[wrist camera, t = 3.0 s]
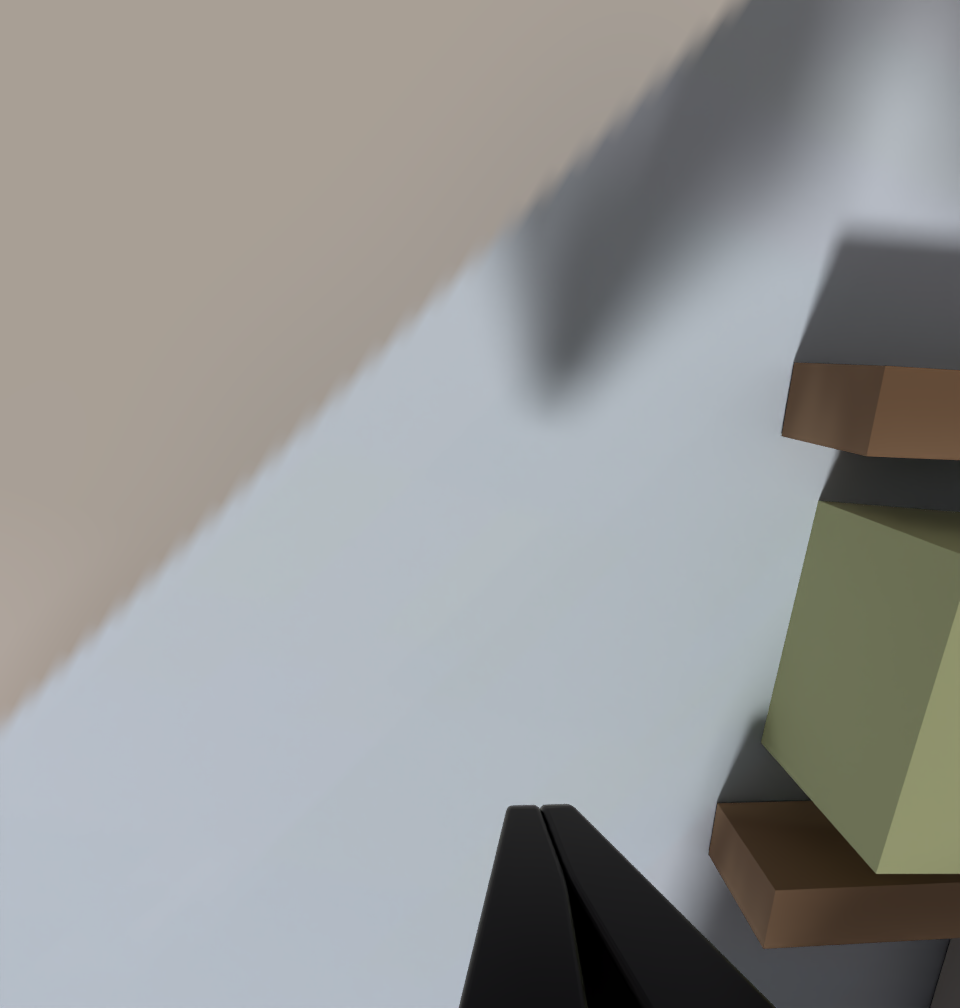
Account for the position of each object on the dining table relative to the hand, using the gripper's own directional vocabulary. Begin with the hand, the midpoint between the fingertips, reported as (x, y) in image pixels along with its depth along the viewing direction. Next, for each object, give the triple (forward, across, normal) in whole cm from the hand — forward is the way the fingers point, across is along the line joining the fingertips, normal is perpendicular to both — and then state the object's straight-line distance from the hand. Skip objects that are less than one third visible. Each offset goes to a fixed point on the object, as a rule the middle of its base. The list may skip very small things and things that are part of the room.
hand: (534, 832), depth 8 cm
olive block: (+6, -10, 0) cm, 11 cm away
